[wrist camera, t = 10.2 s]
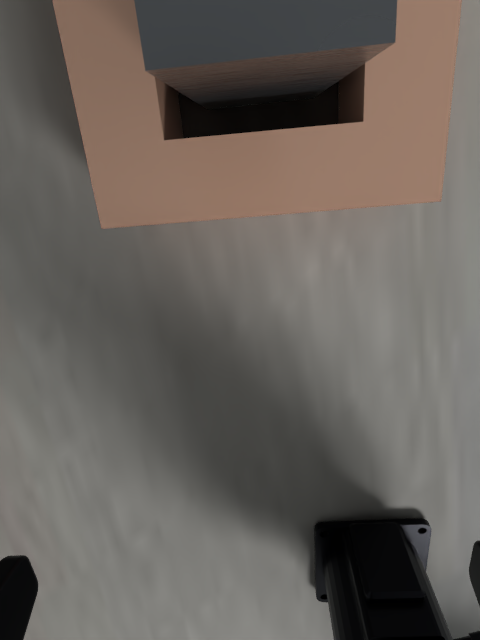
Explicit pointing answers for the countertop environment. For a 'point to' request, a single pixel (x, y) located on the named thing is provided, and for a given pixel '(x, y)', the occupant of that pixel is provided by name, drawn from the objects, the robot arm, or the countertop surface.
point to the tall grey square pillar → (260, 46)
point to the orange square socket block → (263, 146)
